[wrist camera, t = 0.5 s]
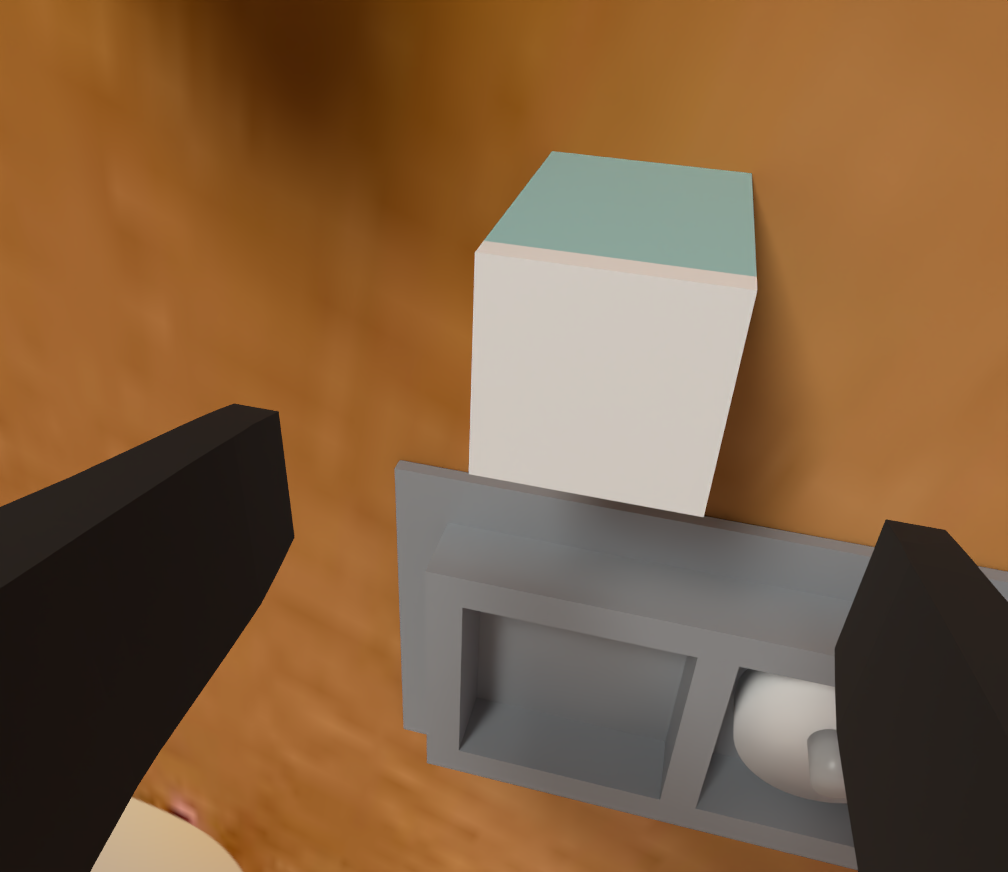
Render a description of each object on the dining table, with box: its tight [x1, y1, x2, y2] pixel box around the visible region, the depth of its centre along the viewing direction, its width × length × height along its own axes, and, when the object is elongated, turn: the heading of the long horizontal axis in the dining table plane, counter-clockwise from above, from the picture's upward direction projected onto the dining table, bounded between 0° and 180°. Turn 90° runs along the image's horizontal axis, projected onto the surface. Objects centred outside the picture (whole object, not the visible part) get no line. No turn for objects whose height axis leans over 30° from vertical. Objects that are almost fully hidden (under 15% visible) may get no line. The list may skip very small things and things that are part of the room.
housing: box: [395, 460, 1008, 870], centre depth 22 cm, size 18×11×3 cm, turn 87°
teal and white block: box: [469, 151, 757, 517], centre depth 15 cm, size 4×4×6 cm
